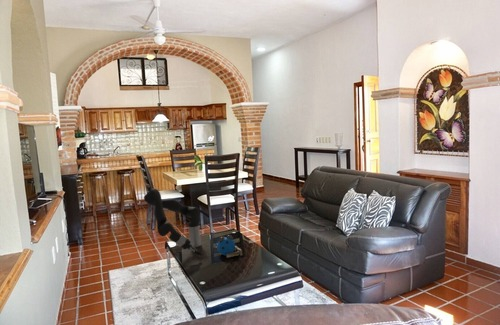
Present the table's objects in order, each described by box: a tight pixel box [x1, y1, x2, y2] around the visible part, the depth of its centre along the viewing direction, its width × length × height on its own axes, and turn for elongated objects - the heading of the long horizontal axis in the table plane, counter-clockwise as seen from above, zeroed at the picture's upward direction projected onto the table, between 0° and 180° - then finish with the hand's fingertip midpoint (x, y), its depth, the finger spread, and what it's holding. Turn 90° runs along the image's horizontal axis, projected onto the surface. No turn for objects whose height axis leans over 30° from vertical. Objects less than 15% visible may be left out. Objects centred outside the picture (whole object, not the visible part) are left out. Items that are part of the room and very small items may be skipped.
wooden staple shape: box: [225, 244, 243, 259], centre depth 278 cm, size 16×12×4 cm
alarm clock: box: [216, 234, 236, 257], centre depth 276 cm, size 13×6×15 cm, turn 114°
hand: (200, 254), depth 267 cm, fingers closed
